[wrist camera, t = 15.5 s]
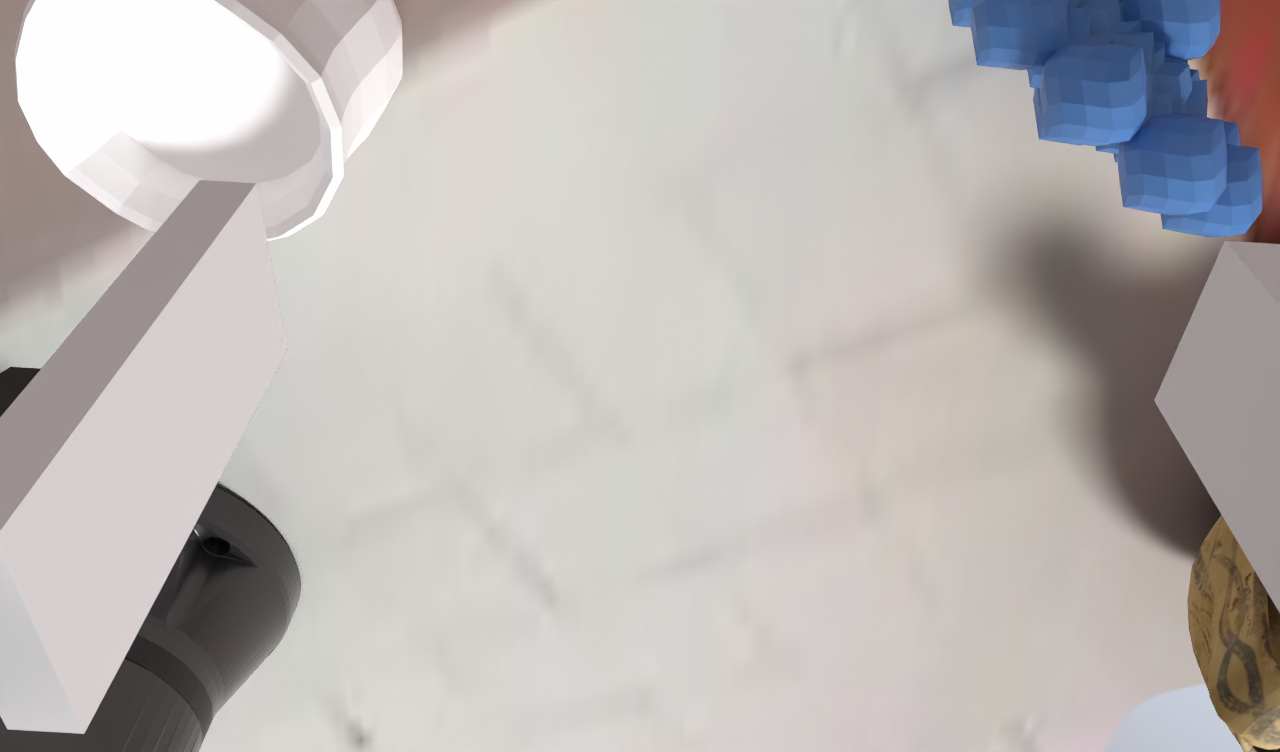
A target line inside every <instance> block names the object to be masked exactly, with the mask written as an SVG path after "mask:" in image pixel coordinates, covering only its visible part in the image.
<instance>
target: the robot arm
mask: <svg viewBox="0 0 1280 752" xmlns="http://www.w3.org/2000/svg"><path fill="white" fill-rule="evenodd" d="M287 351H288V347H287V341H286V336H285V331H284V326H283V320H282V315H281V310H280V305H279V299H278V294H277V289H276V284H275V278H274V273H273V268H272V263H271V257H270V252H269V247H268V242H267V236H266V231H265V226H264V221H263V215H262V210H261V205H260V200H259V194H258V189H257V184H256V183H243V182H226V181H209V180H199V181H198V183H197V184H196V185H195V186H194V187H193V189H192V190H191V191H190V192H189V193H188V195H187V196H186V197H185V198H184V199H183V200H182V202H181V203H180V204H179V205H178V206H177V208H176V209H175V210H174V211H173V212H172V214H171V215H170V216H169V217H168V218H167V220H166V221H165V222H164V223H163V224H162V225H161V227H160V228H159V229H158V230H157V231H156V233H155V234H154V235H153V236H152V237H151V239H150V240H149V241H148V242H147V243H146V245H145V246H144V247H143V248H142V249H141V250H140V252H139V253H138V254H137V255H136V256H135V258H134V259H133V260H132V261H131V262H130V264H129V265H128V266H127V267H126V268H125V270H124V271H123V272H122V273H121V274H120V275H119V277H118V278H117V279H116V280H115V281H114V283H113V284H112V285H111V286H110V287H109V289H108V290H107V291H106V292H105V293H104V295H103V296H102V297H101V298H100V299H99V300H98V302H97V303H96V304H95V305H94V306H93V308H92V309H91V310H90V311H89V312H88V314H87V315H86V316H85V317H84V318H83V320H82V321H81V322H80V323H79V324H78V325H77V327H76V328H75V329H74V330H73V331H72V333H71V334H70V335H69V336H68V337H67V339H66V340H65V341H64V342H63V343H62V345H61V346H60V347H59V348H58V349H57V350H56V352H55V353H54V354H53V355H52V356H51V358H50V359H49V360H48V361H47V362H46V364H45V365H44V366H43V367H42V368H41V369H36V368H19V367H10V368H8V369H7V370H5V371H3V372H2V373H0V752H199V749H200V747H201V744H202V742H203V740H204V738H205V735H206V733H207V731H208V729H209V726H210V724H211V722H212V720H213V718H214V716H215V714H216V713H217V712H218V711H219V709H220V708H221V707H222V706H223V705H224V704H225V703H226V702H227V701H228V700H229V699H230V697H231V696H232V695H233V694H234V693H235V692H236V691H237V690H238V689H239V688H240V686H241V685H242V684H243V683H244V682H245V681H246V680H247V679H248V678H249V677H250V676H251V674H252V673H253V672H254V671H255V670H256V669H257V668H258V667H259V665H260V664H261V663H262V662H263V661H264V660H265V659H266V657H267V656H268V655H270V653H271V652H272V651H273V650H274V649H275V648H276V647H277V645H278V644H279V642H280V641H281V639H282V638H283V636H284V634H285V632H286V630H287V628H288V626H289V623H290V621H291V618H292V616H293V613H294V611H295V609H296V606H297V603H298V601H299V597H300V590H301V581H300V574H299V570H298V566H297V564H296V561H295V559H294V556H293V554H292V552H291V551H290V549H289V547H288V546H287V544H286V543H285V541H284V540H283V538H282V537H281V536H280V535H279V533H278V532H277V531H276V530H275V529H274V528H273V527H272V526H271V525H270V524H269V523H268V522H267V521H266V520H265V519H264V518H263V517H262V516H261V515H259V514H258V513H257V512H256V511H255V510H253V509H252V508H251V507H249V506H248V505H246V504H245V503H244V502H242V501H241V500H239V499H237V498H236V497H234V496H233V495H231V494H229V493H227V492H225V491H224V490H222V489H220V488H218V487H216V484H217V483H218V481H219V479H220V477H221V475H222V473H223V471H224V469H225V467H226V466H227V464H228V462H229V460H230V458H231V456H232V454H233V452H234V451H235V449H236V447H237V445H238V443H239V441H240V439H241V437H242V435H243V434H244V432H245V430H246V428H247V426H248V424H249V422H250V420H251V418H252V417H253V415H254V413H255V411H256V409H257V407H258V405H259V403H260V401H261V400H262V398H263V396H264V394H265V392H266V390H267V388H268V386H269V385H270V383H271V381H272V379H273V377H274V375H275V373H276V371H277V369H278V368H279V366H280V364H281V362H282V360H283V358H284V356H285V354H286V352H287ZM1154 401H1155V403H1156V405H1157V406H1158V408H1159V410H1160V411H1161V413H1162V415H1163V417H1164V418H1165V420H1166V422H1167V423H1168V425H1169V427H1170V428H1171V430H1172V432H1173V433H1174V435H1175V437H1176V439H1177V440H1178V442H1179V444H1180V445H1181V447H1182V449H1183V450H1184V452H1185V454H1186V455H1187V457H1188V459H1189V461H1190V462H1191V464H1192V466H1193V467H1194V469H1195V471H1196V472H1197V474H1198V476H1199V477H1200V479H1201V481H1202V482H1203V484H1204V486H1205V488H1206V489H1207V491H1208V493H1209V494H1210V496H1211V498H1212V499H1213V501H1214V503H1215V504H1216V506H1217V508H1218V510H1219V511H1220V513H1221V515H1222V516H1223V518H1224V520H1225V521H1226V523H1227V525H1228V526H1229V528H1230V530H1231V532H1232V533H1233V535H1234V537H1235V538H1236V540H1237V542H1238V543H1239V545H1240V547H1241V548H1242V550H1243V552H1244V554H1245V555H1246V557H1247V559H1248V560H1249V562H1250V564H1251V565H1252V567H1253V569H1254V570H1255V572H1256V574H1257V575H1258V577H1259V579H1260V581H1261V582H1262V584H1263V586H1264V587H1265V589H1266V591H1267V592H1268V594H1269V596H1270V597H1271V599H1272V601H1273V603H1274V604H1275V606H1276V608H1277V609H1278V611H1279V613H1280V244H1269V243H1252V242H1235V241H1224V243H1223V246H1222V248H1221V250H1220V252H1219V255H1218V257H1217V259H1216V262H1215V264H1214V266H1213V268H1212V271H1211V273H1210V275H1209V277H1208V280H1207V282H1206V284H1205V286H1204V289H1203V291H1202V293H1201V296H1200V298H1199V300H1198V302H1197V305H1196V307H1195V309H1194V311H1193V314H1192V316H1191V318H1190V320H1189V323H1188V325H1187V327H1186V330H1185V332H1184V334H1183V336H1182V339H1181V341H1180V343H1179V345H1178V348H1177V350H1176V352H1175V355H1174V357H1173V359H1172V361H1171V364H1170V366H1169V368H1168V370H1167V373H1166V375H1165V377H1164V379H1163V382H1162V384H1161V386H1160V389H1159V391H1158V393H1157V395H1156V398H1155V400H1154Z"/></svg>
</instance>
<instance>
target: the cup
mask: <svg viewBox="0 0 1280 752" xmlns="http://www.w3.org/2000/svg"><path fill="white" fill-rule="evenodd" d="M14 55H15V70H16V86H17V98H18V102H19V104H20V106H21V108H22V110H23V112H24V115H25V117H26V119H27V121H28V123H29V125H30V127H31V129H32V132H33V134H34V136H35V138H36V140H37V142H38V143H39V145H40V146H41V147H42V148H43V150H44V151H45V152H46V153H47V155H48V156H49V157H50V158H51V160H52V161H53V162H54V163H55V164H56V166H57V167H58V168H59V169H60V171H61V172H62V173H63V174H64V175H65V176H66V177H67V178H69V179H70V180H71V181H73V182H74V183H75V184H77V185H78V186H80V187H81V188H82V189H84V190H85V191H86V192H88V193H89V194H90V195H92V196H93V197H94V198H96V199H97V200H98V201H100V202H101V203H103V204H104V205H105V206H107V207H108V208H109V209H111V210H112V211H113V212H115V213H116V214H118V215H120V216H122V217H124V218H126V219H127V220H129V221H131V222H133V223H135V224H137V225H139V226H141V227H143V228H145V229H147V230H149V231H153V232H156V231H157V230H158V229H159V228H160V227H161V225H162V224H163V223H164V222H165V221H166V220H167V218H168V217H169V216H170V215H171V214H172V212H173V211H174V210H175V209H176V208H177V206H178V205H179V204H180V203H181V202H182V200H183V199H184V198H185V197H186V196H187V195H188V193H189V192H190V191H191V190H192V189H193V187H194V186H195V185H196V184H197V183H198V181H199V180H209V181H226V182H243V183H256V184H257V189H258V194H259V200H260V205H261V210H262V215H263V221H264V226H265V231H266V236H267V241H269V240H274V239H279V238H284V237H288V236H290V235H292V234H293V233H295V232H296V231H298V230H300V229H301V228H303V227H304V226H306V225H308V224H309V223H311V222H313V221H314V220H316V219H317V218H319V217H321V216H322V215H323V214H324V212H325V210H326V209H327V207H328V205H329V203H330V201H331V199H332V197H333V195H334V193H335V191H336V189H337V188H338V186H339V184H340V182H341V180H342V178H343V176H344V166H345V162H346V160H347V158H348V157H349V156H350V155H351V154H352V153H353V152H354V150H355V149H356V148H357V147H358V146H359V145H360V144H361V143H362V142H363V141H364V140H365V139H366V138H367V137H368V135H369V133H370V132H371V130H372V129H373V127H374V125H375V124H376V122H377V121H378V119H379V117H380V116H381V114H382V113H383V111H384V109H385V107H386V105H387V104H388V102H389V100H390V98H391V96H392V94H393V93H394V91H395V89H396V87H397V85H398V84H399V82H400V80H401V78H402V76H403V74H402V22H401V19H400V16H399V14H398V11H397V8H396V5H395V2H394V0H30V1H29V3H28V5H27V6H26V8H25V10H24V14H23V19H22V23H21V27H20V31H19V36H18V40H17V44H16V48H15V53H14Z"/></svg>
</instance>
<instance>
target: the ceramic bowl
mask: <svg viewBox="0 0 1280 752" xmlns="http://www.w3.org/2000/svg"><path fill="white" fill-rule="evenodd" d="M1188 621H1189V631H1190V636H1191V641H1192V646H1193V651H1194V654H1195V657H1196V659H1197V662H1198V665H1199V668H1200V670H1201V673H1202V675H1203V678H1204V680H1205V683H1206V686H1207V688H1208V690H1209V694H1210V698H1211V701H1212V703H1213V705H1214V708H1215V709H1216V712H1217V714H1218V716H1219V717H1220V718H1221V719H1222V720H1223V721H1224V722H1225V723H1226V724H1227V726H1228V727H1229V729H1230V730H1231V732H1232V734H1233V735H1234V736H1235V738H1236V739H1237V741H1238V742H1239V744H1240V745H1241V747H1242V749H1243V751H1244V752H1280V613H1279V611H1278V609H1277V608H1276V606H1275V604H1274V603H1273V601H1272V599H1271V597H1270V596H1269V594H1268V592H1267V591H1266V589H1265V587H1264V586H1263V584H1262V582H1261V581H1260V579H1259V577H1258V575H1257V574H1256V572H1255V570H1254V569H1253V567H1252V565H1251V564H1250V562H1249V560H1248V559H1247V557H1246V555H1245V554H1244V552H1243V550H1242V548H1241V547H1240V545H1239V543H1238V542H1237V540H1236V538H1235V537H1234V535H1233V533H1232V532H1231V530H1230V528H1229V526H1228V525H1227V523H1226V521H1225V520H1224V518H1223V516H1222V515H1221V516H1220V517H1219V519H1218V520H1217V521H1216V523H1215V524H1214V526H1213V527H1212V529H1211V530H1210V532H1209V533H1208V535H1207V537H1206V538H1205V540H1204V541H1203V543H1202V545H1201V548H1200V550H1199V552H1198V554H1197V557H1196V559H1195V561H1194V564H1193V566H1192V571H1191V579H1190V586H1189V593H1188Z"/></svg>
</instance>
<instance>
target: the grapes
mask: <svg viewBox="0 0 1280 752" xmlns="http://www.w3.org/2000/svg"><path fill="white" fill-rule="evenodd" d="M948 1H949V7H950V13H951V18H952V24H953V26H962V27H971V30H972V36H973V43H974V49H975V54H976V60H977V65H981V66H989V67H997V68H1006V69H1015V70H1025V69H1027V70H1028V75H1029V82H1030V87H1034V88H1035V89H1034V98H1033V102H1034V108H1035V115H1036V122H1037V129H1038V135H1039V139H1041V140H1048V141H1054V142H1060V143H1067V144H1074V145H1088V146H1096V151H1101V152H1108V153H1114V159H1115V162H1117V163H1118V171H1119V180H1120V188H1121V195H1122V201H1123V207H1127V208H1132V209H1137V210H1142V211H1147V212H1153V213H1160V214H1161V220H1162V227H1163V229H1167V230H1172V231H1177V232H1181V233H1187V234H1193V235H1199V236H1205V237H1225V236H1232V235H1240V234H1245V233H1246V231H1247V230H1248V229H1249V228H1250V226H1251V225H1252V224H1253V223H1254V221H1255V220H1256V219H1257V217H1258V216H1259V214H1260V213H1261V212H1262V194H1263V187H1262V168H1261V161H1260V154H1259V148H1253V147H1246V146H1241V144H1240V137H1239V130H1238V124H1237V123H1230V122H1223V120H1218V119H1210V118H1207V102H1208V98H1207V79H1206V80H1200V79H1199V72H1198V70H1193V69H1190V68H1189V65H1188V63H1187V61H1188V60H1192V59H1196V58H1200V57H1203V56H1204V55H1205V54H1206V53H1207V52H1208V51H1209V50H1210V49H1211V47H1212V46H1213V45H1214V43H1215V41H1216V39H1217V37H1218V35H1219V33H1220V22H1221V3H1220V0H948Z"/></svg>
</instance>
